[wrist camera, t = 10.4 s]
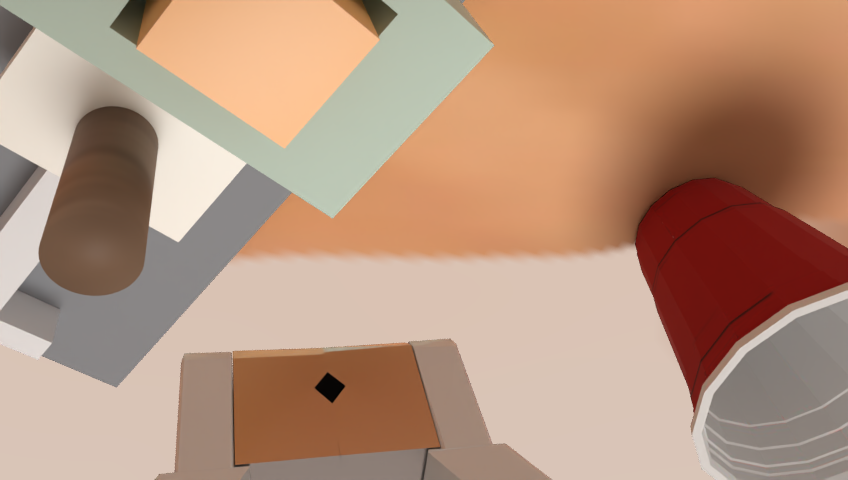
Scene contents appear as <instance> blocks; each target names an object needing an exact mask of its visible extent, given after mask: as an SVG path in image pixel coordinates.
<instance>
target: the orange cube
mask: <svg viewBox="0 0 848 480" xmlns="http://www.w3.org/2000/svg"><path fill="white" fill-rule="evenodd" d="M379 40H380V38H379V36H378V34H377V32H376V30H375V28H374V25H373V23H372V21H371V19H370V17H369V15H368V13H367V10H366V8H365V6H364V4H363V2H362V0H146V4H145V9H144V13H143V18H142V23H141V28H140V32H139V37H138V42H137V46H136V49H137V50H139V51H140V52H142V53H143V54H145V55H146V56H148V57H149V58H150V59H152V60H153V61H155V62H156V63H158V64H159V65H161V66H162V67H164V68H165V69H167V70H168V71H170V72H171V73H173V74H174V75H176V76H177V77H179V78H180V79H182V80H183V81H185V82H186V83H188V84H189V85H191V86H192V87H194V88H195V89H197V90H198V91H200V92H201V93H202V94H204V95H205V96H207V97H208V98H210V99H211V100H213V101H214V102H216V103H217V104H219V105H220V106H222V107H223V108H225V109H226V110H228V111H229V112H231V113H232V114H234V115H235V116H237V117H238V118H240V119H241V120H243V121H244V122H246V123H247V124H249V125H250V126H252V127H253V128H254V129H256V130H257V131H259V132H260V133H262V134H263V135H265V136H266V137H268V138H269V139H271V140H272V141H274V142H275V143H277V144H278V145H280V146H281V147H283V148H284V149H285V148H286V147H287V145H288V144H289V143H290V142H291V141H292V140H293V139H294V137H295V136H296V135H297V134H298V133H299V132H300V131H301V129H302V128H303V127H304V126H305V125H306V124H307V123H308V121H309V120H310V119H311V118H312V117H313V116H314V115H315V113H316V112H317V111H318V110H319V109H320V108H321V107H322V105H323V104H324V103H325V102H326V101H327V100H328V99H329V97H330V96H331V95H332V94H333V93H334V92H335V91H336V89H337V88H338V87H339V86H340V85H341V84H342V83H343V81H344V80H345V79H346V78H347V77H348V76H349V75H350V73H351V72H352V71H353V70H354V69H355V68H356V67H357V65H358V64H359V63H360V62H361V61H362V60H363V59H364V57H365V56H366V55H367V54H368V53H369V52H370V51H371V49H372V48H373V47H374V46H375V45H376V44H377V43H378V41H379Z"/></svg>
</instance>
